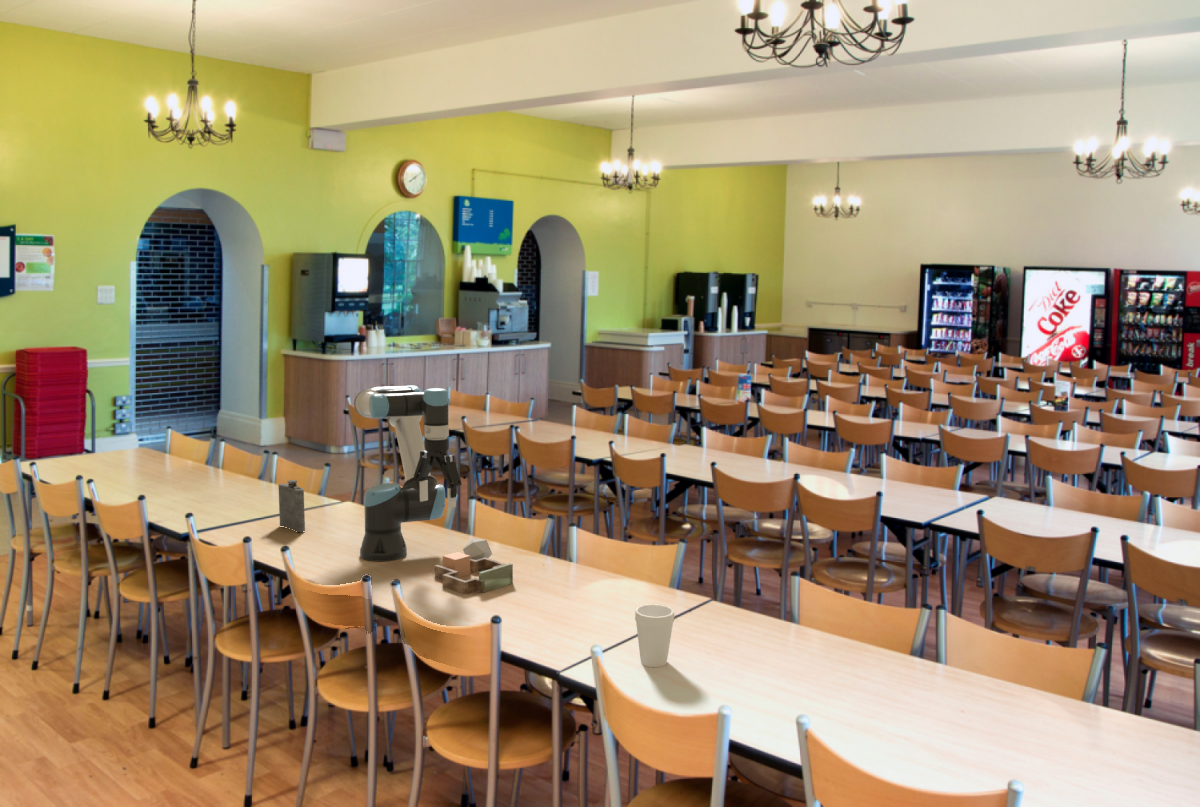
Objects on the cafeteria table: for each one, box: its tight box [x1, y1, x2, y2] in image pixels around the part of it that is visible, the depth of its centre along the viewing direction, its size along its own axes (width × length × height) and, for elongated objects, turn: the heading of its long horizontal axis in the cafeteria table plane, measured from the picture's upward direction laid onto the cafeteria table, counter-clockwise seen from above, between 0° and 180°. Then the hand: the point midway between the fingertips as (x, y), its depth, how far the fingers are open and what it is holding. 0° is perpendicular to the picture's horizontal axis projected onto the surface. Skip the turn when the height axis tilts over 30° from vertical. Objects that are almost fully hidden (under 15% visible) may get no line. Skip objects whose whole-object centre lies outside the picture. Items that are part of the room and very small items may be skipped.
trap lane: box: [434, 557, 514, 595], centre depth 290 cm, size 22×20×6 cm
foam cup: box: [634, 603, 675, 668], centre depth 230 cm, size 10×9×13 cm
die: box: [462, 537, 493, 560], centre depth 307 cm, size 8×9×10 cm
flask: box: [278, 479, 306, 533], centre depth 344 cm, size 4×14×18 cm, turn 49°
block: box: [442, 551, 471, 578], centre depth 295 cm, size 6×6×6 cm
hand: (437, 504), depth 300 cm, fingers open, 13 cm apart
